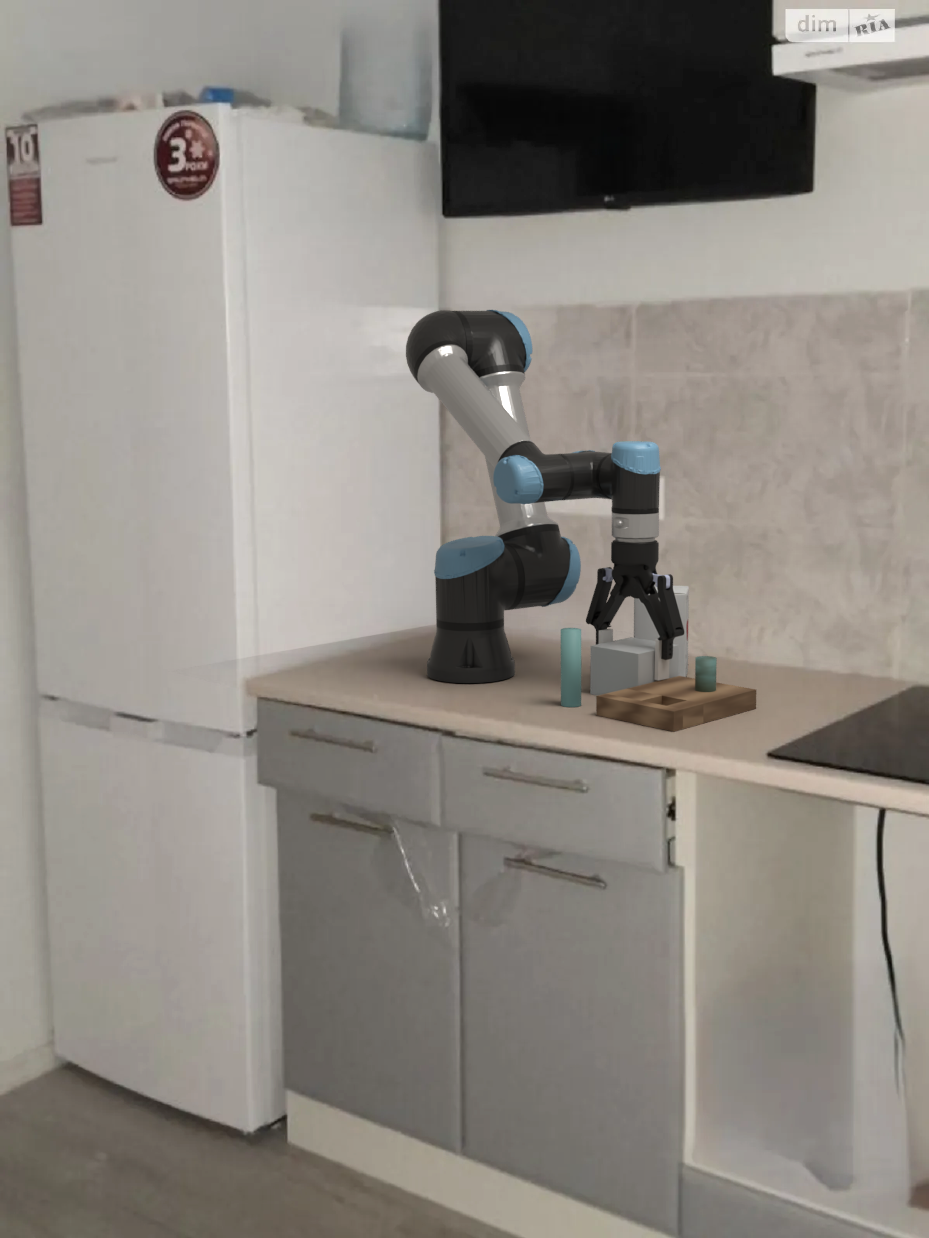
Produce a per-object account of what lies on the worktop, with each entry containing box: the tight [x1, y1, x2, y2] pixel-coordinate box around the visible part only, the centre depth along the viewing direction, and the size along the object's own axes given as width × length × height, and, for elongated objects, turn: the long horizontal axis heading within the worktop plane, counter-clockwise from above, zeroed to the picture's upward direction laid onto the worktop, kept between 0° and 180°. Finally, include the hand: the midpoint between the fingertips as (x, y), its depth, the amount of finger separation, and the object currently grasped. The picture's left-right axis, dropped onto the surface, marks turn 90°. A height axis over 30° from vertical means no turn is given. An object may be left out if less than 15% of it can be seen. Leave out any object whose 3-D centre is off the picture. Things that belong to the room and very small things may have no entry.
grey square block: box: [589, 636, 679, 696], centre depth 245 cm, size 10×10×8 cm
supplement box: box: [633, 585, 690, 677], centre depth 258 cm, size 9×9×15 cm
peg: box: [560, 627, 582, 708], centre depth 238 cm, size 3×3×12 cm
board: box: [595, 655, 757, 732], centre depth 232 cm, size 15×20×8 cm
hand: (633, 674), depth 246 cm, fingers open, 11 cm apart
